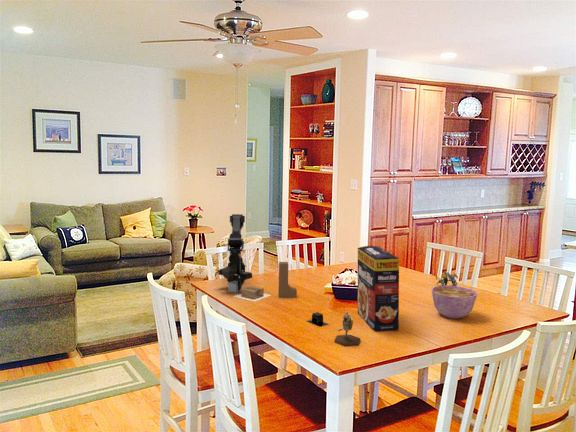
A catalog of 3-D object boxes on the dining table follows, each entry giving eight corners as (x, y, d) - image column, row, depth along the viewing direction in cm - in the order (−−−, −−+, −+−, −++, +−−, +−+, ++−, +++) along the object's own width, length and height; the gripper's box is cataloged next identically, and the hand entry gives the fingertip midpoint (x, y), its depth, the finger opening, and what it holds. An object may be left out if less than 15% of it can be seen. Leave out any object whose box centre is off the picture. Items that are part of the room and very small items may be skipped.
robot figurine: (338, 335, 202) (339, 306, 200) (361, 338, 199) (362, 308, 197) (332, 344, 191) (333, 314, 190) (357, 348, 188) (358, 317, 187)
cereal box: (356, 312, 232) (356, 244, 228) (379, 311, 233) (380, 243, 229) (374, 333, 206) (374, 257, 201) (400, 331, 207) (401, 255, 203)
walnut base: (251, 293, 258) (251, 285, 258) (263, 296, 254) (263, 288, 253) (241, 296, 252) (241, 289, 251) (253, 299, 247) (253, 291, 247)
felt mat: (249, 291, 264) (249, 290, 264) (271, 295, 256) (271, 295, 256) (232, 297, 252) (232, 296, 252) (254, 302, 244) (254, 301, 244)
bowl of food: (421, 311, 234) (422, 287, 233) (454, 307, 242) (455, 284, 241) (450, 325, 216) (452, 299, 215) (485, 319, 224) (487, 294, 223)
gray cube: (234, 289, 266) (234, 280, 266) (241, 291, 264) (241, 282, 263) (228, 291, 262) (228, 282, 262) (235, 293, 260) (235, 283, 259)
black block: (333, 326, 214) (333, 315, 213) (320, 329, 209) (321, 319, 209) (313, 318, 223) (314, 308, 223) (301, 321, 219) (301, 311, 218)
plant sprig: (453, 298, 278) (462, 284, 270) (434, 294, 277) (443, 280, 270) (450, 282, 286) (459, 269, 278) (432, 279, 286) (440, 265, 278)
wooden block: (295, 296, 257) (296, 261, 254) (296, 298, 252) (297, 263, 250) (278, 296, 256) (278, 261, 254) (278, 298, 251) (279, 263, 249)
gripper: (211, 260, 260) (211, 289, 261) (239, 265, 249) (238, 295, 251) (225, 257, 269) (225, 285, 271) (252, 261, 258) (252, 291, 260)
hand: (235, 289), depth 263 cm, fingers closed on gray cube, 5 cm apart
